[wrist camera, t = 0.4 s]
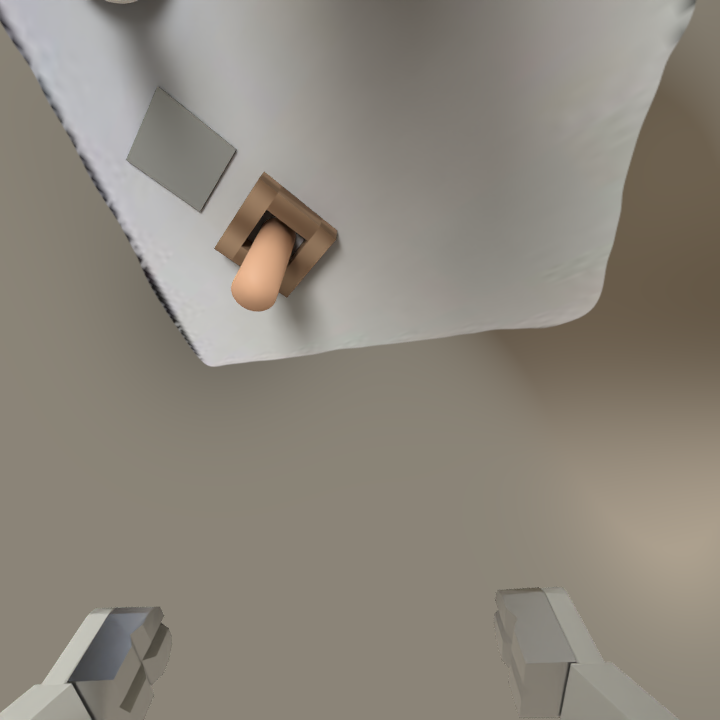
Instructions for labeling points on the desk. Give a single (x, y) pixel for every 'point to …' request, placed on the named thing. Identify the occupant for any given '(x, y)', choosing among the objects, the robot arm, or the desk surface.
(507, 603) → the robot arm
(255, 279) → the peg
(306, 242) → the holder
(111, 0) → the flower in vase
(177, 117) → the mat
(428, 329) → the desk surface
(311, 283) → the desk surface
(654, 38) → the desk surface
